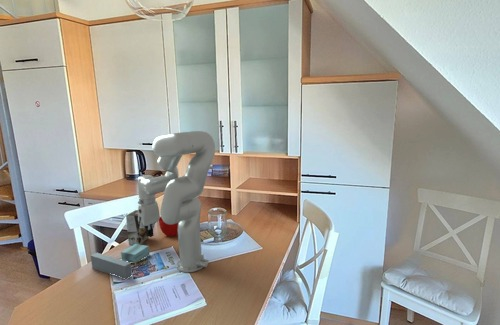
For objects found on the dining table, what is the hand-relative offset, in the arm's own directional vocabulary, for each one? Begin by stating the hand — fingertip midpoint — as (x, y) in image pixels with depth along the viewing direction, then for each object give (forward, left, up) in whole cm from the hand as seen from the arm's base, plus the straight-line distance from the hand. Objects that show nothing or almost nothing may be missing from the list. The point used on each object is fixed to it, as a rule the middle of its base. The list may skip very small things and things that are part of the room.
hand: (150, 235), depth 143 cm
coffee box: (+13, -4, -7) cm, 15 cm away
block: (-1, +10, -7) cm, 13 cm away
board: (-1, +23, -7) cm, 24 cm away
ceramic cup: (+1, -18, -7) cm, 19 cm away
